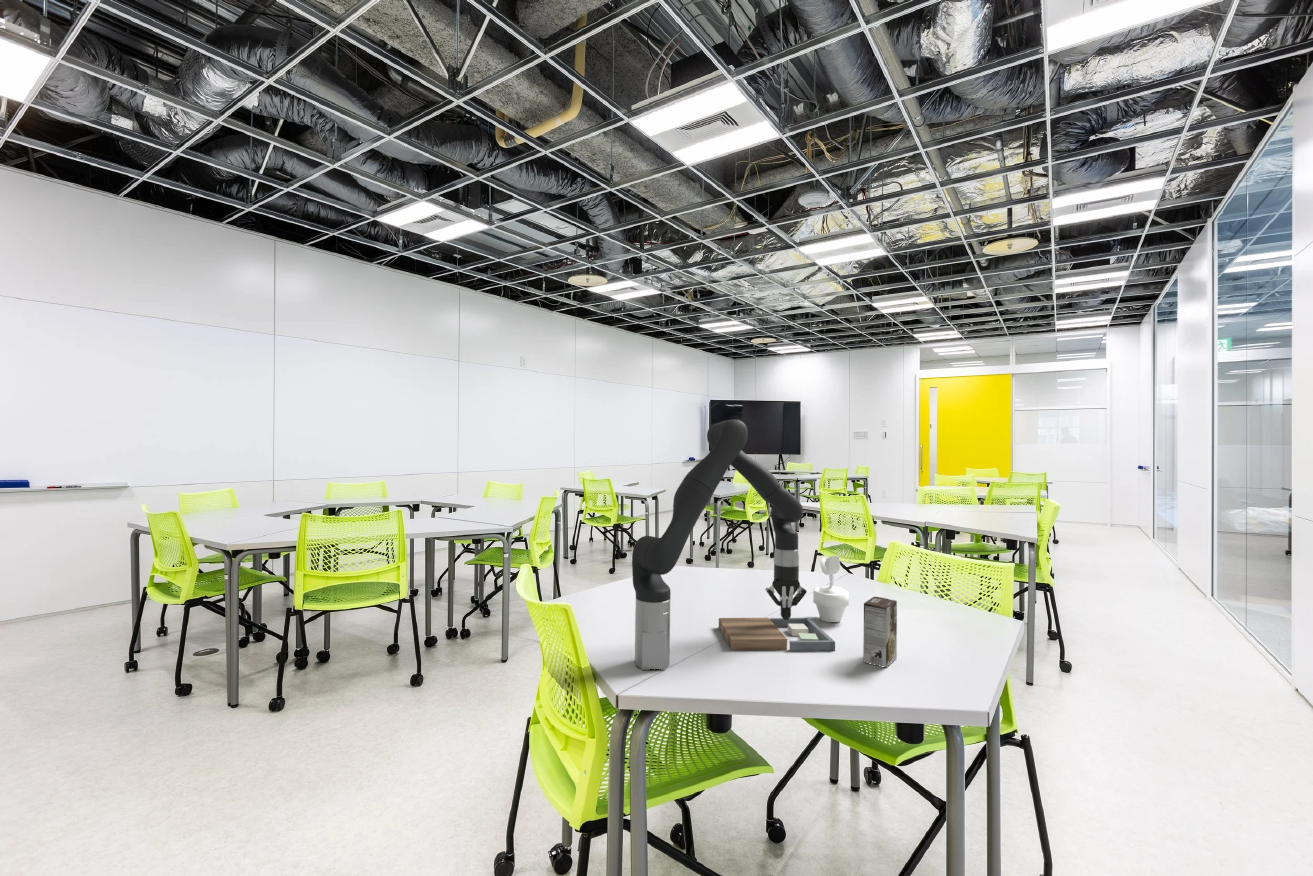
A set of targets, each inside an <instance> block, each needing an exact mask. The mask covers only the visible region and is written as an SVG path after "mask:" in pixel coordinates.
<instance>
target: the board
mask: <svg viewBox="0 0 1313 876" xmlns="http://www.w3.org/2000/svg"><path fill="white" fill-rule="evenodd" d="M718 629H719V631H720V632H721V634H722V636H723V638H724V639H725V641H726V643H727V645H728V647H729V649H730V651H772V650H775V651H781V650H783V651H784V650H785V651H788V638H787V637H786V636H785V635H784V634H783V633H782V631H781V630H780V629H779V627H776V626H775V625H774V624H773V622H772V621H771V620H770V617H719V618H718Z"/></svg>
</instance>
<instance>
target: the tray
mask: <svg viewBox="0 0 1313 876" xmlns="http://www.w3.org/2000/svg"><path fill="white" fill-rule="evenodd" d="M769 619H770V620H771V621H772V622H773V624H774V625H775V626H776V627H777V628H788V624H804V625H805V626H806V627H807V628H808V631H810V632H811V634H816V636H817V637H818V641H798V640H789V650H790V652H824V651H825V652H826V651H827V652H828V651H829V652H830V651H831V652H833V651H836V641H835V640H834V639H833V638H832V637H831V636H830V635H829V634H828V633H826V632H825V631H824V630H823V629H822V628H820V627H819V625H817V624H816V623H815V622H814V621H813V620H812V619H811V618H809V617H790V618H789V620H784V619H783V618H782V617H769Z"/></svg>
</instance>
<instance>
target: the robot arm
mask: <svg viewBox="0 0 1313 876" xmlns="http://www.w3.org/2000/svg"><path fill="white" fill-rule="evenodd" d="M747 427H748V426H747V425H746V424H745V423H744V422H743V421H742V420H740V419H728V420H723V421H720V422H718V423H717V422H716V423H714V424H712V425H711V426H710V427H709V428H708V430H707V433H706V439H707V442H708V445H709V446H710V448H711V450H710V451H709V453H707V455H706V456H704V458H702V460H700V461H699V462H698V463H696V464H695V466H693V468H692V469H690V471H688V472H687V474H686V475H685V476H684V478H683V479H682V481H681V483H680V484H679V485H678V487H677V489H676V491H675V493H674V496H673V505H672V516H671V521H670V523H669V524H668V526H667V528H666V530H665V531H664V533H663V534H662V536H661V537H657V536H652V535H644V536H641V537H640V538H638V539H637V540H636V542H635V544H634V546H633V549H632V555H631V558H632V559H631V567H632V573H631V574H632V586H633V589H634V591H635V612H634V613H635V614H634V616H635V618H634V619H635V621H634V622H635V623H634V628H635V629H634V664H636V665H637V666H636V665H635V666H636V667H638V666H639V667H638V668H640V670H641V671H651V670H650V669H654V670H653V671H655V669H659V670H660V669H661V670H662V671H663V670H666V668H667V667H669V665H670V663H671V661H670V659H671V656H670V655H671V653H670V652H671V650H670V649H671V646H670V645H671V595H672V594H671V587H670V586H669V585H668V584H667V583H666V582H665V580H664V579H663V577H662V576H664V575H667V574H668V573H670V572H671V571H672V570H673V569H674V568H675V566H676V565H677V562H678V561H679V559H680V558H681V557H680V556H681V555H682V552H683V550H684V548H685V545H686V544H687V541H688V539H689V537H690V535H691V533H692V531H693V529H694V528H695V526H696V524H697V522H698V520H699V518H700V516H701V515H702V513H703V511H704V510H705V509H706V506H707V505H708V504H709V502H710V500H711V498H712V497H713V495H714V493H715V491H716V489H717V487H718V486H719V484H720V483H721V481H722V480H723V478H724V477H725V476H724V475H725V474H726V472H727V471H728V469H729V467H730V466H732V468H734V469H735V470H736V471H737V473H739V474H740V476H742V477H743V478H744V479H745V480H746V481H747V482H748V483H749V484H750V485H751V487H753V489H754V490H755V491H756V492H757V494H758V495H759V496H760V497H761V499H762V500H764V501H765V502H766V503H768V504H771V509H770V517H771V522H772V526H773V530H774V552H773V553H774V554H773V581H772V582H771V586H769V587H766V588H765V592H766V593H767V594H768V596H769V597H770V598H771V599H772V601H773V602H774V604H775V605H776V606H778V607H780V618H783V619H784V620H789V618H792V617H791V616H792V607H794V606H795V607H796V606H798V604H799V603H800V602H801V600H802V599H803V597H804V596H805V595H806V594H807V589H806V588H804V587H802V586H801V583H800V581H799V579H800V577H799V575H800V574H799V573H800V570H799V569H800V567H799V566H800V555H799V534H798V532H797V530H795V529H794V528H793V527H792V523H797V522H800V521H801V520H802V519H803V516H804V508H803V505H802V503H801V502H800V501H799V499H797V497H796V496H794V495H793V494H792V493H791V492H790V491H788V490H787V489H786V488H785V487H783V486H782V485H781V483H780V482H779V481H778V479H777V478H776V477H775V475H773V474H772V472H771V471H770V470H769V469H767V468H766V466H764V465H762V464H761V463H759V462H758V461H757V460H755V459H753V458H752V457H750V456H749V455H748V454H747V453H745V452H744V451H743V449H744V447H745V445H746V444H747V441H748V437H749V436H748V434H749V433H748V428H747ZM775 593H777V594H778V595H779V596H778V597H779V599H778V598H777V596H776V595H775ZM661 670H660V671H661Z"/></svg>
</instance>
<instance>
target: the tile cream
mask: <svg viewBox="0 0 1313 876" xmlns="http://www.w3.org/2000/svg"><path fill="white" fill-rule="evenodd" d="M787 632H788V633H789V634H790V636H792V637H798V633H809V629H808V628H807V627H806V626H805V625H804V624H788V627H787Z"/></svg>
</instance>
